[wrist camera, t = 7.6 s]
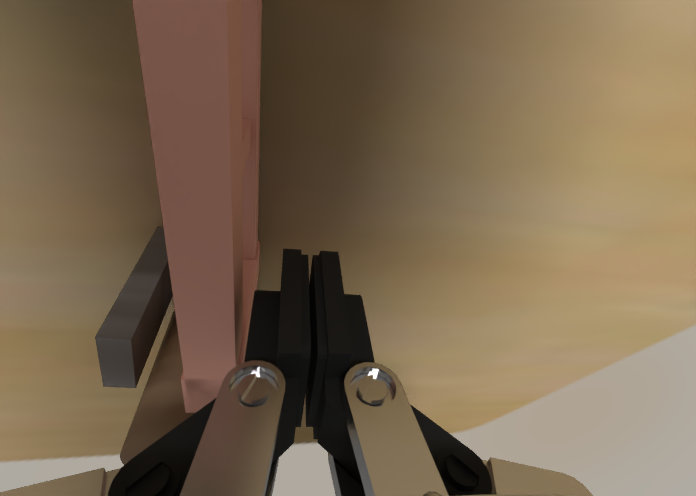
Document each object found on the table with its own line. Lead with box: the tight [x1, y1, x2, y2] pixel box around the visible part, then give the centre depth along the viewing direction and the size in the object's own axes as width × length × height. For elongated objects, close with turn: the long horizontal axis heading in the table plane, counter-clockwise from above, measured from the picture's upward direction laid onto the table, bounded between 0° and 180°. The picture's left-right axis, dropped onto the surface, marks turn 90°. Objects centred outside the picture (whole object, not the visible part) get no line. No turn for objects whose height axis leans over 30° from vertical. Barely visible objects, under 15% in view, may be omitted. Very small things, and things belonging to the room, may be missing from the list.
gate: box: [132, 0, 262, 413], centre depth 11 cm, size 14×2×7 cm, turn 172°
